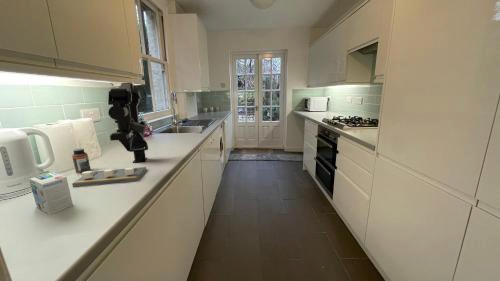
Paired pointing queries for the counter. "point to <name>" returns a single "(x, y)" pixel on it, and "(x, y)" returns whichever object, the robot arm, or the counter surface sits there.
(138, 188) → the counter surface
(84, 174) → the switch right
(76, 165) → the supplement bottle
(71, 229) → the counter surface
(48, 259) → the counter surface
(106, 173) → the switch middle
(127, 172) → the switch
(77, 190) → the counter surface
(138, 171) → the switch panel
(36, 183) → the light bulb box
